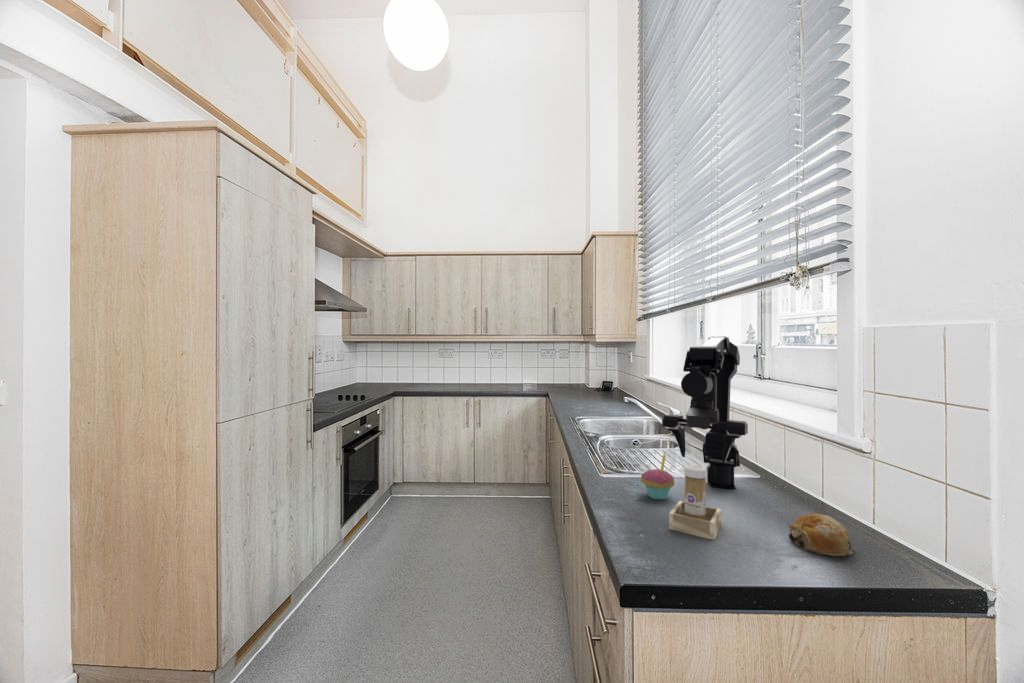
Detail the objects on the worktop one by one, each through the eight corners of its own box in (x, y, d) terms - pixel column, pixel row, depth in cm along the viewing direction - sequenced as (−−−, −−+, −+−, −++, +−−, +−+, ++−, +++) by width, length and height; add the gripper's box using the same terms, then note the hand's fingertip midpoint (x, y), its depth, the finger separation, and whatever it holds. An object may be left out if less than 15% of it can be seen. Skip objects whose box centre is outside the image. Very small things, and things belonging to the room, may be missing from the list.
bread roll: (843, 580, 80) (866, 546, 78) (784, 544, 85) (805, 512, 83) (836, 557, 88) (857, 526, 87) (783, 526, 93) (802, 496, 92)
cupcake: (669, 491, 117) (669, 448, 117) (678, 503, 109) (678, 456, 109) (638, 490, 118) (637, 447, 118) (644, 502, 110) (644, 455, 110)
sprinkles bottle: (682, 528, 94) (681, 467, 94) (687, 520, 98) (686, 462, 98) (704, 533, 92) (704, 471, 92) (708, 525, 95) (708, 466, 95)
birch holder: (679, 515, 101) (679, 500, 101) (721, 524, 96) (721, 509, 96) (669, 529, 94) (669, 513, 94) (714, 540, 89) (713, 523, 89)
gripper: (656, 394, 104) (654, 458, 103) (741, 399, 93) (741, 472, 92) (668, 393, 113) (667, 452, 112) (748, 398, 102) (748, 463, 101)
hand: (703, 459), depth 104 cm, fingers open, 9 cm apart
